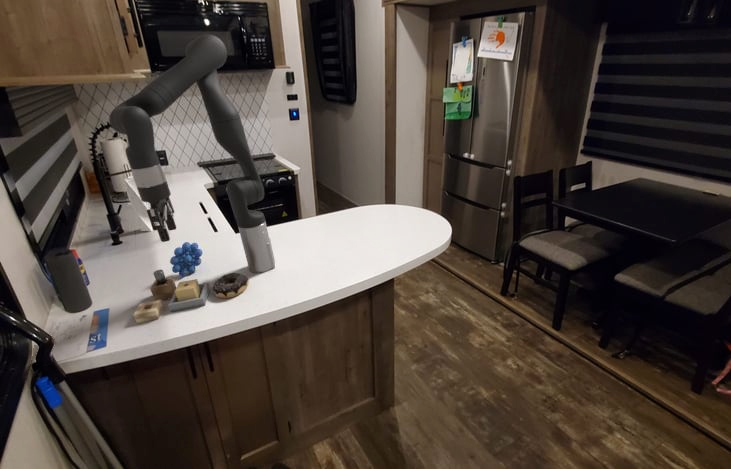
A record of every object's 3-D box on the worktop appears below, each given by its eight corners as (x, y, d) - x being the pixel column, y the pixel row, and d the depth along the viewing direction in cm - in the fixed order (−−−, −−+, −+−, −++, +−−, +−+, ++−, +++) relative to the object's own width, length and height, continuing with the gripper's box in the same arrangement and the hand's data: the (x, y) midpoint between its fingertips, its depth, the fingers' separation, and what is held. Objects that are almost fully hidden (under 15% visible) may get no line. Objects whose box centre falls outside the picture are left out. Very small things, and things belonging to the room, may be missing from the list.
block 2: (201, 292, 122) (197, 278, 120) (197, 301, 117) (193, 287, 115) (183, 295, 121) (179, 282, 119) (179, 304, 116) (174, 291, 114)
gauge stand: (163, 307, 117) (160, 299, 115) (158, 318, 111) (155, 310, 110) (143, 311, 116) (139, 303, 114) (136, 323, 110) (133, 314, 109)
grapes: (201, 263, 142) (193, 235, 138) (209, 268, 138) (200, 239, 133) (171, 276, 135) (160, 246, 130) (178, 282, 131) (167, 251, 126)
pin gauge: (172, 292, 125) (163, 268, 121) (170, 296, 122) (161, 273, 119) (163, 293, 124) (154, 270, 121) (161, 298, 122) (152, 274, 118)
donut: (252, 279, 128) (250, 269, 127) (243, 298, 118) (240, 288, 116) (221, 282, 129) (218, 272, 127) (208, 301, 118) (205, 291, 116)
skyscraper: (162, 225, 184) (143, 170, 172) (153, 232, 177) (132, 175, 165) (147, 226, 185) (127, 171, 173) (138, 232, 178) (116, 176, 166)
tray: (209, 288, 125) (207, 282, 124) (205, 305, 116) (202, 298, 115) (178, 294, 123) (176, 288, 122) (171, 312, 114) (168, 305, 113)
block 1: (177, 289, 126) (172, 276, 124) (173, 298, 121) (168, 285, 119) (159, 292, 125) (155, 280, 123) (155, 301, 120) (150, 288, 118)
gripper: (144, 177, 108) (162, 228, 115) (128, 191, 96) (149, 247, 102) (171, 173, 110) (187, 224, 117) (159, 187, 97) (177, 242, 104)
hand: (169, 235), depth 109 cm, fingers open, 8 cm apart
